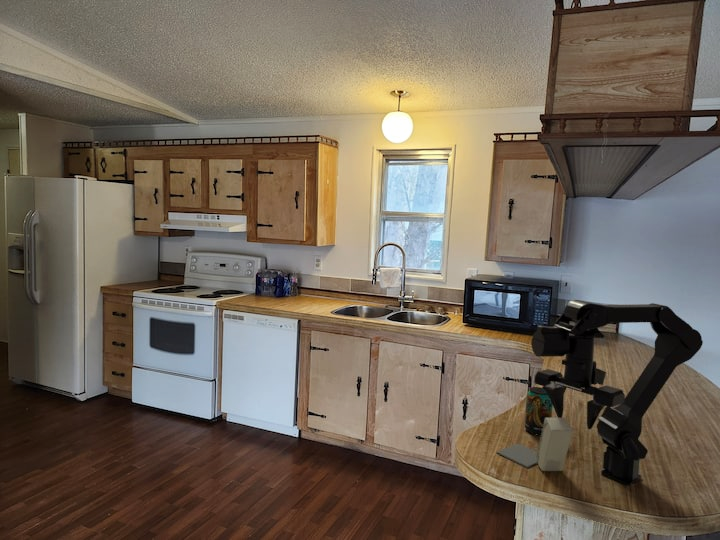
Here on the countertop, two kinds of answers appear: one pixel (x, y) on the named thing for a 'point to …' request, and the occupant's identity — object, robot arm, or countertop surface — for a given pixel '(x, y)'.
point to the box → (554, 444)
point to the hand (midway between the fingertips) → (574, 423)
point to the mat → (520, 455)
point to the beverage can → (537, 409)
